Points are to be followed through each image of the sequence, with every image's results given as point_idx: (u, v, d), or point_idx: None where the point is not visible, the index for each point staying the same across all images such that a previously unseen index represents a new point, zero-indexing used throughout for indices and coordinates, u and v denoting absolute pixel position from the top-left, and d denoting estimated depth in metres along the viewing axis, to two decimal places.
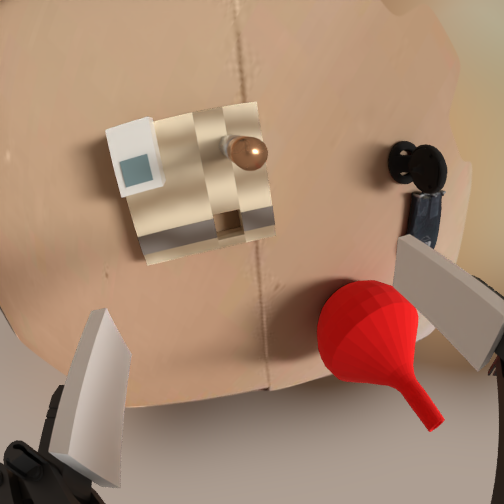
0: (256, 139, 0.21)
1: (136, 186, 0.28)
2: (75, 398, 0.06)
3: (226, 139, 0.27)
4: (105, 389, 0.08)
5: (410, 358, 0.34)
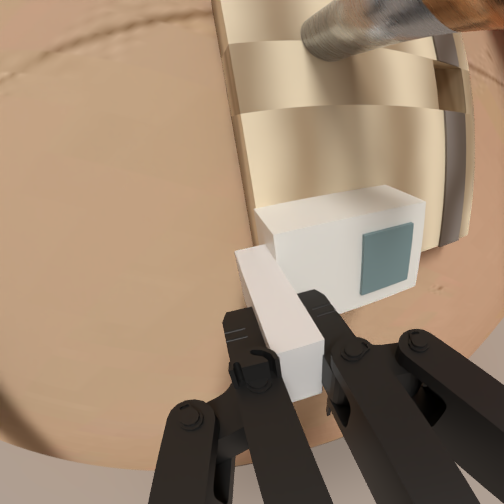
0: None
1: (410, 257, 0.13)
2: (273, 307, 0.09)
3: (358, 28, 0.07)
4: None
5: None
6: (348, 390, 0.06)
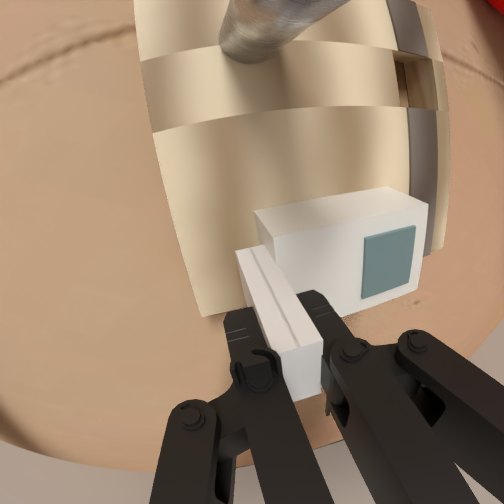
0: None
1: (412, 260, 0.13)
2: (274, 307, 0.09)
3: (246, 22, 0.06)
4: None
5: None
6: (347, 390, 0.06)
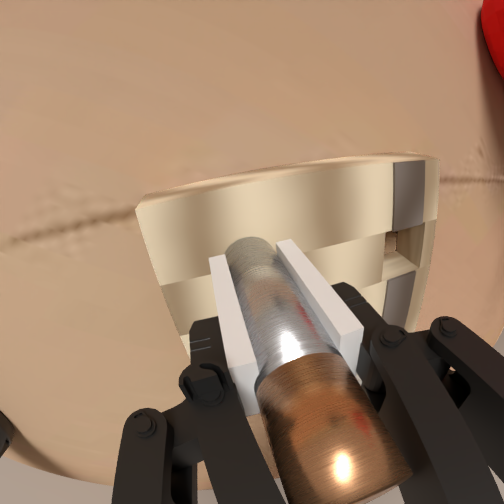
0: None
1: None
2: (236, 318, 0.09)
3: None
4: None
5: None
6: (385, 373, 0.06)
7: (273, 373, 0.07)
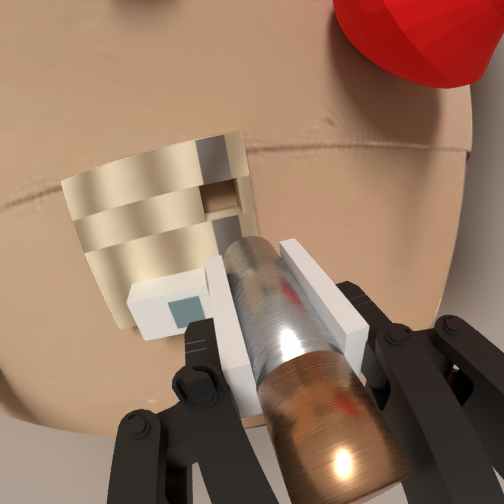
0: None
1: (205, 311, 0.26)
2: (232, 320, 0.09)
3: None
4: None
5: None
6: (390, 371, 0.06)
7: (274, 371, 0.07)
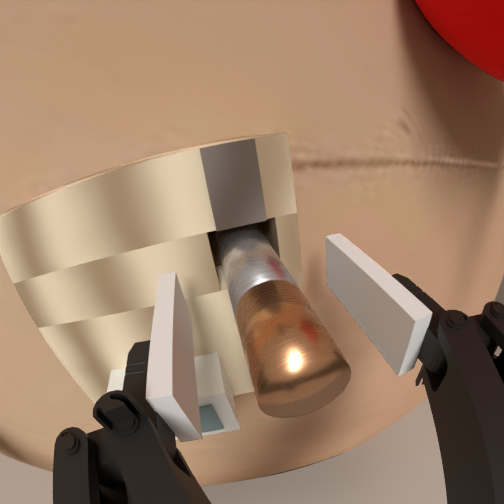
0: (266, 390, 0.07)
1: (222, 418, 0.16)
2: (167, 345, 0.08)
3: None
4: (183, 342, 0.10)
5: None
6: (450, 350, 0.06)
7: (245, 295, 0.10)
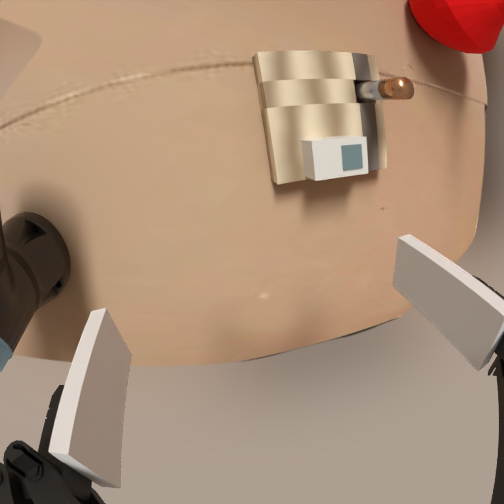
0: (398, 82, 0.24)
1: (362, 158, 0.33)
2: (75, 398, 0.06)
3: (365, 96, 0.31)
4: (105, 389, 0.08)
5: None
6: None
7: (380, 81, 0.27)
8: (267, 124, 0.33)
